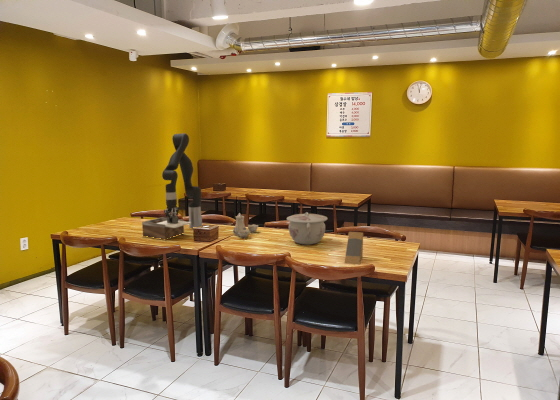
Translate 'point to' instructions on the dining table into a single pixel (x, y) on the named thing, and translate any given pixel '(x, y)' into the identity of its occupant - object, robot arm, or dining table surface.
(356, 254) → the sandwich container
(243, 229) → the chinaware
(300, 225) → the chamber pot
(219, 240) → the dining table surface
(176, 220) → the lid
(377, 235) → the dining table surface
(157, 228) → the box
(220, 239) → the dining table surface
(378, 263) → the dining table surface
